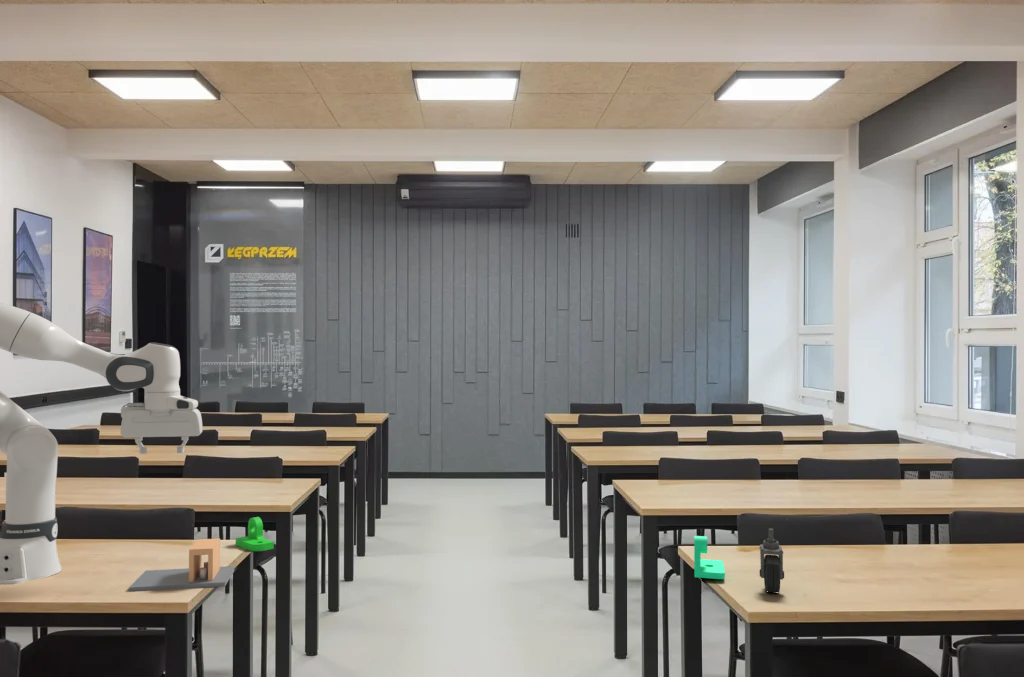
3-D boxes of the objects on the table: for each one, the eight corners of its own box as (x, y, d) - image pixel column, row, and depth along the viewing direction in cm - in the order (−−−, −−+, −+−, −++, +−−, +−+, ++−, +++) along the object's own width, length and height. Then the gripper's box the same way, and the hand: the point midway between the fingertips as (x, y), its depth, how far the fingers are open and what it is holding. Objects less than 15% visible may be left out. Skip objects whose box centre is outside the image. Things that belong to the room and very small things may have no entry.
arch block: (188, 581, 187) (189, 549, 187) (197, 570, 196) (197, 539, 196) (212, 580, 188) (212, 548, 188) (219, 568, 197) (220, 538, 198)
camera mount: (725, 583, 192) (725, 543, 193) (694, 581, 194) (694, 541, 194) (723, 570, 204) (723, 532, 204) (694, 568, 206) (694, 530, 206)
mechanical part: (235, 544, 228) (235, 518, 228) (254, 541, 232) (254, 515, 232) (254, 552, 220) (255, 525, 220) (273, 548, 224) (273, 521, 224)
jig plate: (129, 593, 182) (129, 577, 182) (145, 576, 196) (145, 561, 196) (224, 588, 186) (225, 572, 186) (234, 571, 200) (234, 556, 200)
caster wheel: (782, 587, 189) (782, 527, 189) (785, 599, 180) (785, 536, 180) (758, 585, 191) (758, 526, 191) (760, 597, 181) (761, 535, 182)
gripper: (117, 403, 198) (116, 455, 198) (199, 402, 202) (198, 454, 202) (124, 402, 204) (124, 452, 204) (204, 401, 209) (203, 450, 208)
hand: (162, 453), depth 203 cm, fingers open, 8 cm apart
